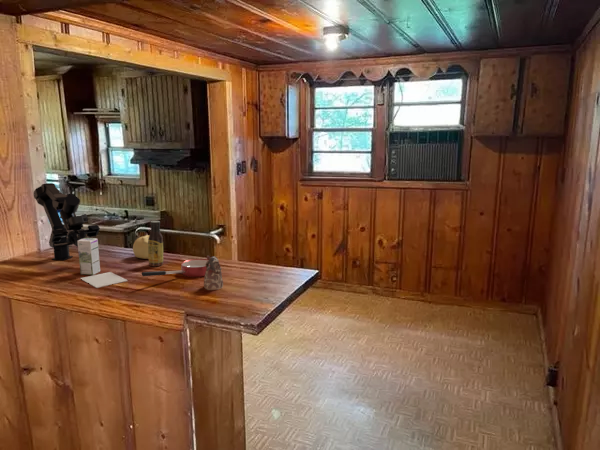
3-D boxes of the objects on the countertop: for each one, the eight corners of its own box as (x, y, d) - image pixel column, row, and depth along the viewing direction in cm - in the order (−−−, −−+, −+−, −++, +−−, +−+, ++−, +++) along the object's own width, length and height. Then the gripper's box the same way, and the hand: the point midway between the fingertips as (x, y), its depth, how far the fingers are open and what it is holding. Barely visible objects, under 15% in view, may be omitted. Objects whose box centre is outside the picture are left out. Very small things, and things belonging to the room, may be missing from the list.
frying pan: (159, 293, 157) (158, 276, 156) (136, 286, 164) (135, 270, 163) (219, 271, 184) (219, 257, 183) (197, 266, 190) (197, 252, 189)
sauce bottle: (145, 266, 191) (143, 221, 187) (155, 262, 196) (153, 219, 193) (157, 267, 188) (155, 222, 185) (167, 264, 194) (164, 220, 190)
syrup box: (100, 271, 182) (98, 237, 180) (93, 275, 177) (90, 240, 174) (88, 270, 183) (85, 237, 180) (79, 274, 177) (76, 240, 175)
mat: (80, 278, 172) (80, 278, 172) (110, 272, 181) (110, 271, 181) (96, 288, 161) (96, 287, 161) (127, 281, 170) (127, 280, 170)
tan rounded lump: (155, 260, 199) (154, 238, 197) (129, 260, 200) (128, 237, 198) (163, 254, 211) (162, 233, 209) (139, 254, 211) (137, 232, 209)
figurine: (214, 291, 159) (213, 259, 157) (200, 287, 163) (198, 257, 160) (227, 286, 165) (226, 255, 163) (213, 282, 169) (212, 253, 166)
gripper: (49, 210, 177) (61, 241, 171) (96, 206, 190) (108, 234, 185) (45, 227, 183) (56, 256, 178) (90, 221, 197) (102, 249, 191)
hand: (82, 248), depth 183 cm, fingers closed
